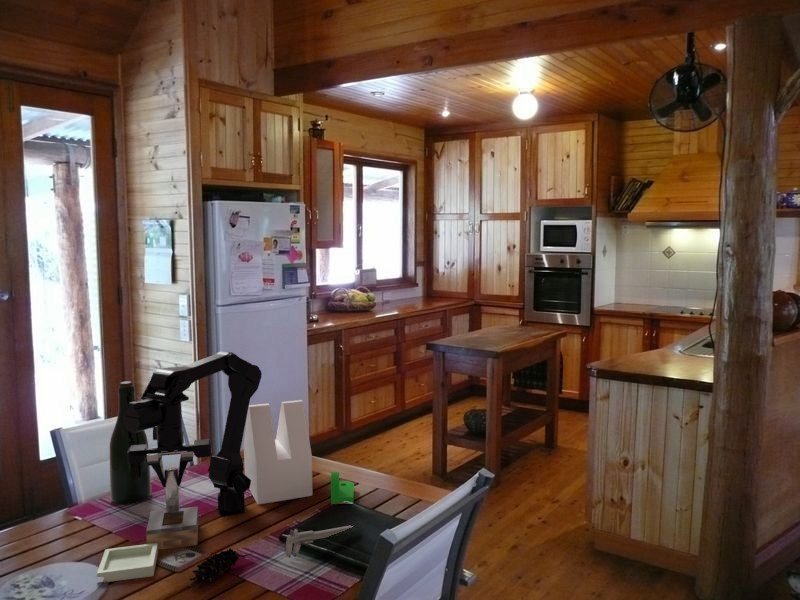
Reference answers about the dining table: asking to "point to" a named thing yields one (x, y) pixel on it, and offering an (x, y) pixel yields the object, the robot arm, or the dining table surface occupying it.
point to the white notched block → (278, 453)
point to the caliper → (308, 538)
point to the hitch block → (173, 528)
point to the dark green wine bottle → (126, 478)
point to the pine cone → (215, 566)
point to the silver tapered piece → (171, 490)
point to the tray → (128, 562)
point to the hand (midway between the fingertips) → (171, 486)
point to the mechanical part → (341, 489)
